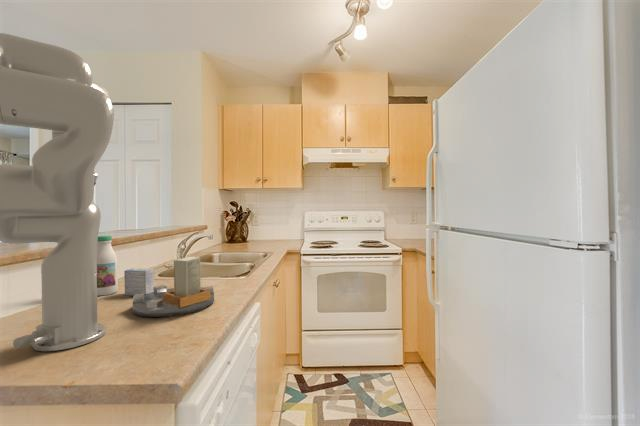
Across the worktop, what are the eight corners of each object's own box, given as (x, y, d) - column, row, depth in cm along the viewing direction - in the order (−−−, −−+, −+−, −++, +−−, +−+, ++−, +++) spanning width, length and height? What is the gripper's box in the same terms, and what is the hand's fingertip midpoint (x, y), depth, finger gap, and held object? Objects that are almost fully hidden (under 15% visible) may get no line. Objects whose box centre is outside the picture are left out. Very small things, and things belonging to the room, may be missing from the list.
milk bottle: (96, 291, 107) (95, 235, 106) (121, 289, 109) (120, 234, 109) (86, 297, 99) (85, 237, 99) (113, 295, 102) (112, 236, 101)
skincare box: (189, 296, 90) (188, 256, 90) (201, 297, 89) (201, 256, 89) (173, 302, 84) (172, 259, 84) (186, 304, 83) (185, 260, 83)
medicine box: (154, 292, 105) (154, 267, 105) (146, 296, 100) (145, 270, 100) (133, 292, 105) (133, 267, 105) (124, 295, 101) (123, 270, 101)
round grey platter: (229, 301, 93) (228, 285, 93) (155, 323, 75) (155, 304, 75) (189, 290, 106) (189, 276, 106) (119, 306, 88) (119, 290, 88)
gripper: (108, 144, 84) (109, 205, 84) (61, 147, 88) (63, 205, 88) (80, 138, 76) (81, 205, 77) (31, 142, 81) (32, 205, 81)
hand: (71, 205), depth 82 cm, fingers open, 9 cm apart
